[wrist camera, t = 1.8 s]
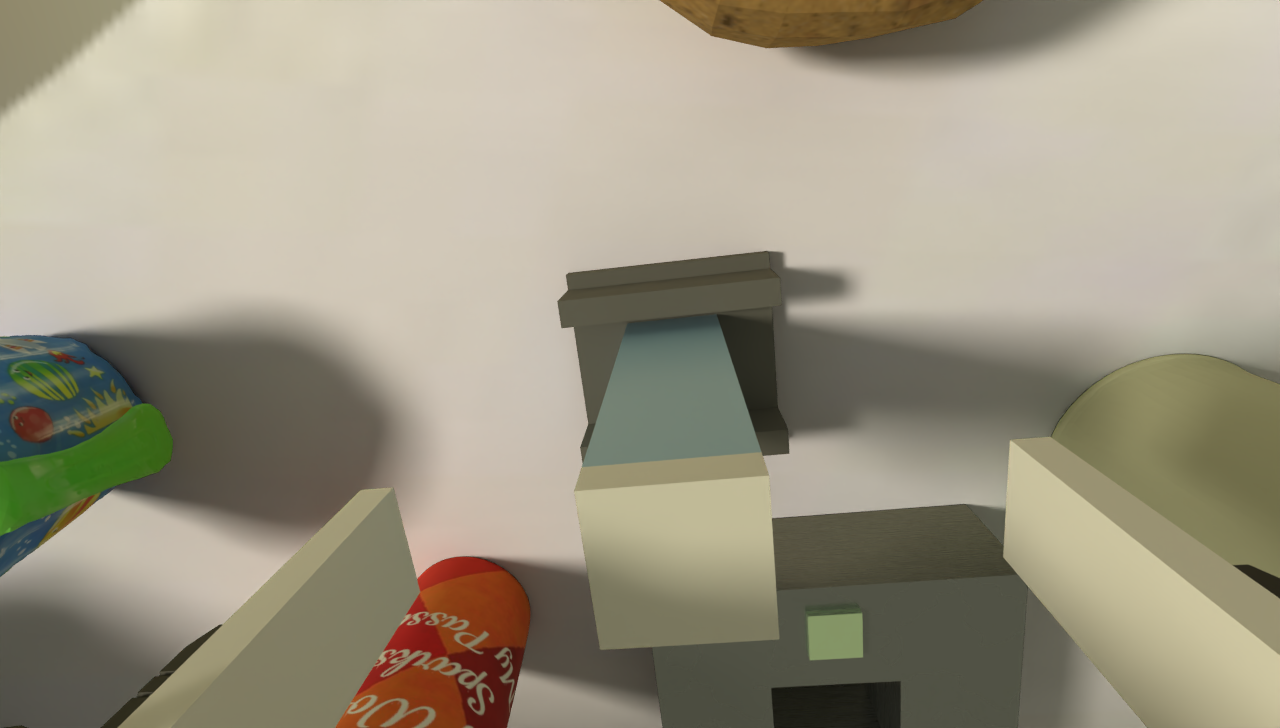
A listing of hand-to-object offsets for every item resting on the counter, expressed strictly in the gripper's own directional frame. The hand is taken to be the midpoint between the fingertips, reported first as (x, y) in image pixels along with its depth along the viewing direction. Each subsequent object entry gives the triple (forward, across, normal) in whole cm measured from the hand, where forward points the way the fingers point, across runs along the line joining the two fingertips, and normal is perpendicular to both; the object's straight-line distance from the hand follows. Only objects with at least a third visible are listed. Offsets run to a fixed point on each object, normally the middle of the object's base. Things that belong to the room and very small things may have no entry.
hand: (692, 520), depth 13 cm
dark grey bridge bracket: (+13, 0, 0) cm, 13 cm away
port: (+13, +4, -15) cm, 20 cm away
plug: (+12, 0, 0) cm, 12 cm away
